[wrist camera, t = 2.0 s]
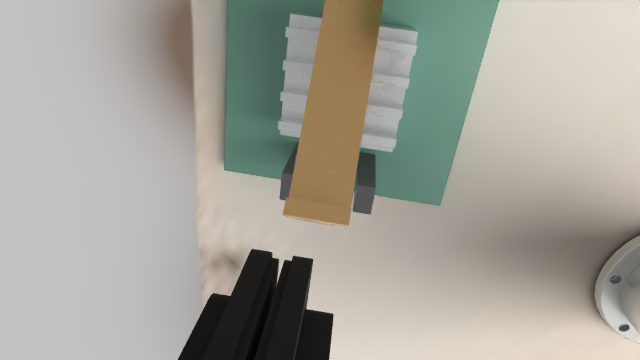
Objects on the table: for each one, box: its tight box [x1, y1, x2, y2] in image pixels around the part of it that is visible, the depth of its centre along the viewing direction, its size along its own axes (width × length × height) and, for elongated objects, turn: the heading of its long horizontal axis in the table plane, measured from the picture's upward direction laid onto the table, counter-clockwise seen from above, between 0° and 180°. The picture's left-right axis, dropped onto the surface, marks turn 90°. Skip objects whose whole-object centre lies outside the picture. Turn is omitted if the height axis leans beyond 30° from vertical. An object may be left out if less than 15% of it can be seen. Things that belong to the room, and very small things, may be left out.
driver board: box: [224, 0, 499, 214], centre depth 27 cm, size 18×18×7 cm
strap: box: [283, 0, 384, 228], centre depth 20 cm, size 3×14×2 cm
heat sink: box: [278, 12, 418, 152], centre depth 26 cm, size 8×12×6 cm, turn 172°
